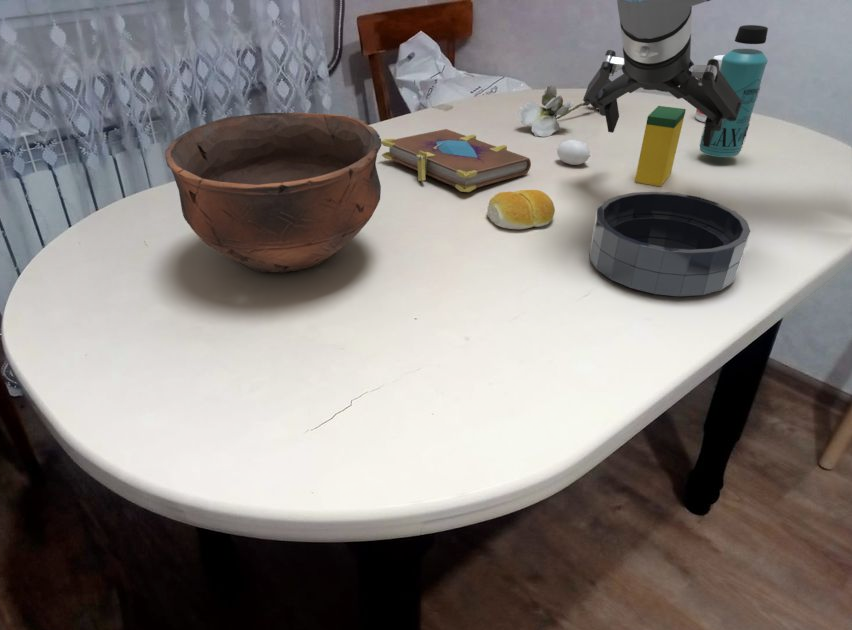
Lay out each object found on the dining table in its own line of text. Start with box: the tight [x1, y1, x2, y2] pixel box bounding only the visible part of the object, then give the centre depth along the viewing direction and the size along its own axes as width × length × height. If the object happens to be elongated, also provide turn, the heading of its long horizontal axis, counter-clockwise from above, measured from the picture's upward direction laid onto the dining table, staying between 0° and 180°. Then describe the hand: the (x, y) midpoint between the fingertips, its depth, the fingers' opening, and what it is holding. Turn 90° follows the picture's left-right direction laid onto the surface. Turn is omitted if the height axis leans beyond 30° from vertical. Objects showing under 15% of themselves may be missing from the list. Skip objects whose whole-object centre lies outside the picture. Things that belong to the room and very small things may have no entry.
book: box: [381, 128, 532, 193], centre depth 108 cm, size 16×25×5 cm, turn 37°
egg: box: [556, 139, 591, 166], centre depth 107 cm, size 4×6×4 cm, turn 52°
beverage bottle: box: [699, 24, 769, 158], centre depth 102 cm, size 6×7×20 cm
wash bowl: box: [589, 191, 751, 297], centre depth 78 cm, size 17×17×6 cm
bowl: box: [164, 112, 382, 274], centre depth 80 cm, size 25×25×15 cm
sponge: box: [634, 105, 687, 188], centre depth 99 cm, size 4×6×10 cm, turn 148°
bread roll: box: [486, 189, 556, 230], centre depth 90 cm, size 8×9×4 cm
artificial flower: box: [518, 78, 612, 138], centre depth 124 cm, size 9×22×10 cm, turn 125°
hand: (660, 131), depth 97 cm, fingers open, 13 cm apart
